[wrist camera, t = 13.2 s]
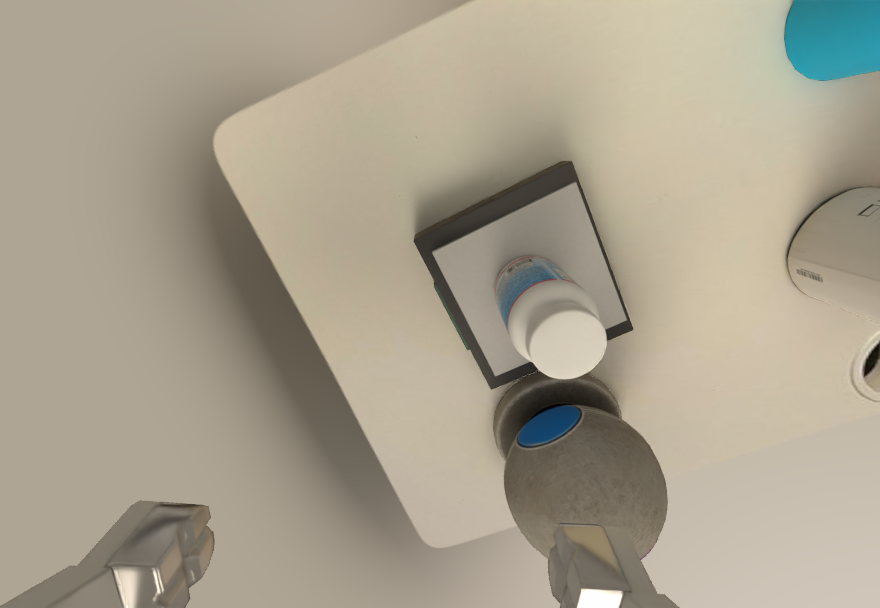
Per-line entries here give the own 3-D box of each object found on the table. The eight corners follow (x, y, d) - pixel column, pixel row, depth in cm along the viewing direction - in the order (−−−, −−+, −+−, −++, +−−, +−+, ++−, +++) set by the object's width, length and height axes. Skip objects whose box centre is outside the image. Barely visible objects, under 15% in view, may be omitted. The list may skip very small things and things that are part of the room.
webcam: (526, 488, 46) (564, 634, 32) (470, 404, 42) (485, 527, 28) (635, 439, 44) (727, 573, 30) (586, 346, 40) (665, 448, 26)
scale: (411, 236, 37) (408, 243, 34) (563, 160, 34) (574, 161, 31) (485, 378, 41) (488, 394, 38) (622, 319, 39) (636, 332, 36)
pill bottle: (492, 322, 36) (513, 391, 25) (495, 253, 34) (519, 298, 23) (561, 321, 36) (611, 391, 25) (568, 253, 34) (626, 297, 23)
